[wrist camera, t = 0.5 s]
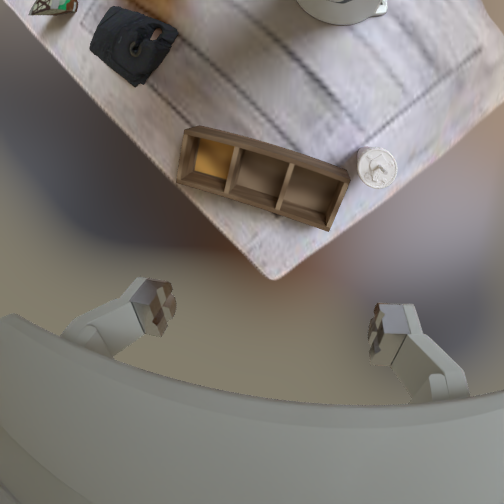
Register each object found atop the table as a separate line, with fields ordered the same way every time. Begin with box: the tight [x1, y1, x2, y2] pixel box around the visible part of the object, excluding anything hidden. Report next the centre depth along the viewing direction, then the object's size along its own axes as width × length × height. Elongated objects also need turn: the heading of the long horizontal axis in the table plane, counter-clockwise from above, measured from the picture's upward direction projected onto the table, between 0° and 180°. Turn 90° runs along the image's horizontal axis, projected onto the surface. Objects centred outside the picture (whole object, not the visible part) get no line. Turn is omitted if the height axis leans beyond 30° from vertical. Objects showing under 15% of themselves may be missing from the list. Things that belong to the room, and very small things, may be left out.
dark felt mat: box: [90, 6, 178, 87], centre depth 38 cm, size 15×22×5 cm
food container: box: [29, 0, 78, 15], centre depth 28 cm, size 12×6×10 cm, turn 71°
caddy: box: [176, 126, 350, 232], centre depth 47 cm, size 10×29×6 cm, turn 76°
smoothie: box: [357, 146, 397, 189], centre depth 38 cm, size 6×6×14 cm
